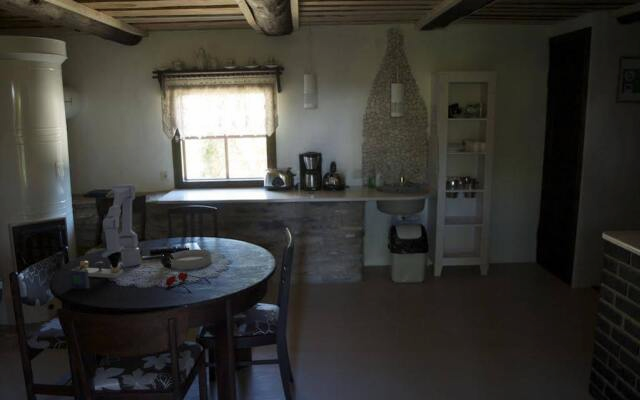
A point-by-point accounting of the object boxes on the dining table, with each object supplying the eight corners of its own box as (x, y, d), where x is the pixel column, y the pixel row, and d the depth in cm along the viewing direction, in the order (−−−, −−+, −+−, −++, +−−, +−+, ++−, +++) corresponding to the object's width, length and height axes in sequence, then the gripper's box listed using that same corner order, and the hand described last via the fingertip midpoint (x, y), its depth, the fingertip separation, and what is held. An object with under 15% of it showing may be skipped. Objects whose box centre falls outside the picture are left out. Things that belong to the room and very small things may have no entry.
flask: (91, 288, 239) (88, 266, 237) (86, 290, 236) (84, 268, 234) (74, 286, 242) (72, 265, 240) (70, 288, 239) (67, 267, 237)
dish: (161, 267, 270) (160, 258, 269) (186, 256, 290) (186, 248, 289) (195, 271, 261) (195, 262, 260) (219, 259, 281) (218, 251, 281)
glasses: (186, 279, 249) (185, 269, 248) (211, 284, 241) (211, 274, 240) (164, 288, 237) (164, 278, 237) (190, 293, 229) (189, 283, 228)
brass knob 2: (119, 272, 259) (118, 265, 259) (120, 274, 256) (119, 267, 255) (110, 274, 257) (110, 266, 257) (112, 276, 254) (111, 268, 253)
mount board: (123, 273, 260) (123, 269, 259) (114, 278, 253) (114, 274, 253) (86, 271, 265) (86, 267, 265) (77, 275, 258) (77, 271, 258)
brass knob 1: (88, 267, 263) (88, 260, 263) (89, 269, 260) (89, 261, 259) (80, 268, 261) (79, 261, 261) (81, 270, 258) (80, 263, 257)
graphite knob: (103, 268, 261) (102, 260, 261) (104, 270, 258) (104, 262, 257) (95, 269, 259) (94, 262, 259) (96, 271, 256) (95, 264, 255)
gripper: (110, 245, 246) (112, 272, 248) (128, 238, 260) (130, 263, 262) (97, 244, 247) (100, 271, 250) (116, 237, 261) (118, 262, 264)
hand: (115, 267), depth 256 cm, fingers closed, pressing on brass knob 2
